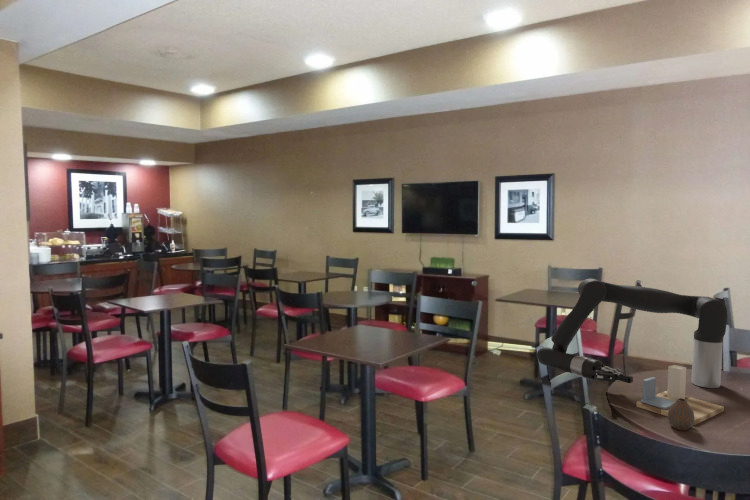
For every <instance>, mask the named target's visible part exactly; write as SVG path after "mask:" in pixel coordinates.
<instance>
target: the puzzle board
mask: <svg viewBox="0 0 750 500" xmlns="http://www.w3.org/2000/svg"><path fill="white" fill-rule="evenodd" d="M655 396H657V397H661V398H664V399H667V400H671V401H674V402H676V400H674V399H671V398H667V390H665V391H662V392H660V393H657V394H656V393H655ZM685 400H686V401H687V403H688V404H689V406H690V407H691V408H692V410H693V412H694V417H695V418H694V424H693V426H695V425H698V424H700V423H702V422H704V421H706V420H708V419H710V418H713V417H715V416H716V415H718V414H721V413H723V412H724V407H725V406H723V405H720V404H715V403H712V402H709V401H705V400H701V399H698V398H695V397H691V396H687V395H685ZM636 407H637V408H640V409H643V410H646V411H650V412H651V413H656V414H659V415H662V416H665V417H668V411H669V408H668V409H662V408H659V407H656V406H653V405H649V404H646V403H643V402H640V400H638V401H636Z"/></svg>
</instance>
